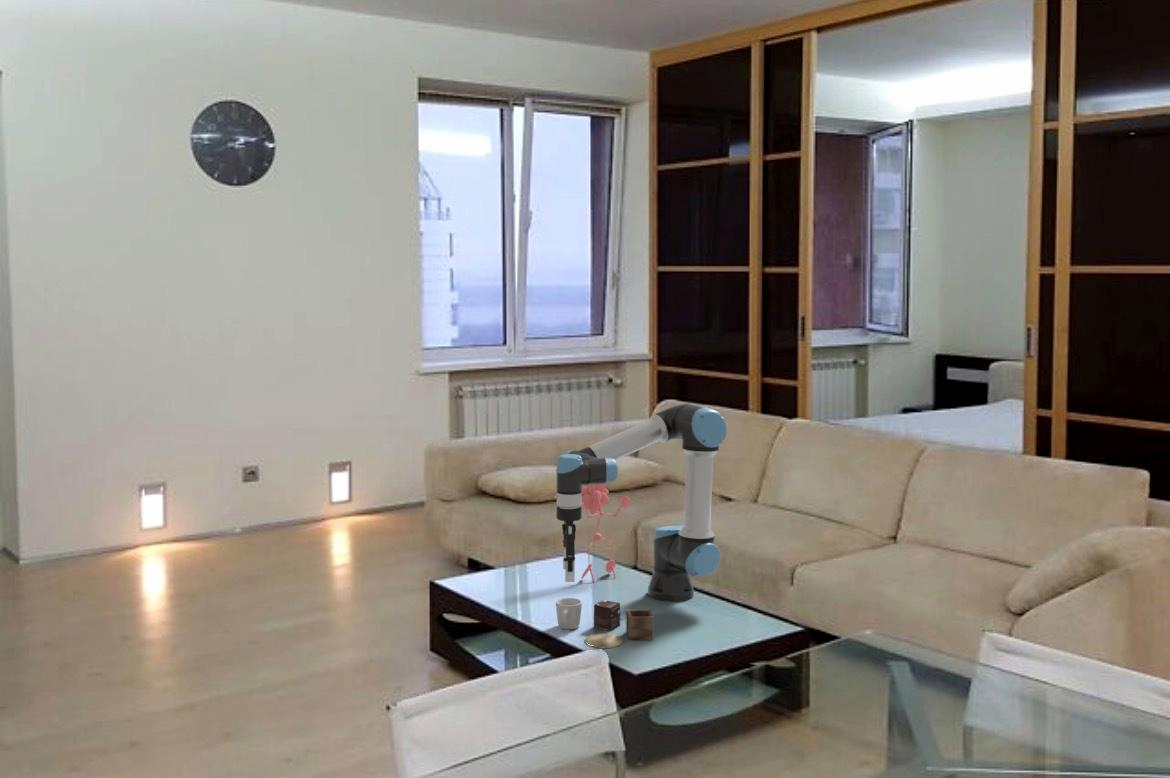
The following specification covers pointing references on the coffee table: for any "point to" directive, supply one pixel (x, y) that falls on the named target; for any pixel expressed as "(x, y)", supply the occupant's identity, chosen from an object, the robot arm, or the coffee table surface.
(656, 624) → the coffee table surface
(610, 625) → the box
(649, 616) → the pen pot
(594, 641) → the coaster
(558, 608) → the cup
